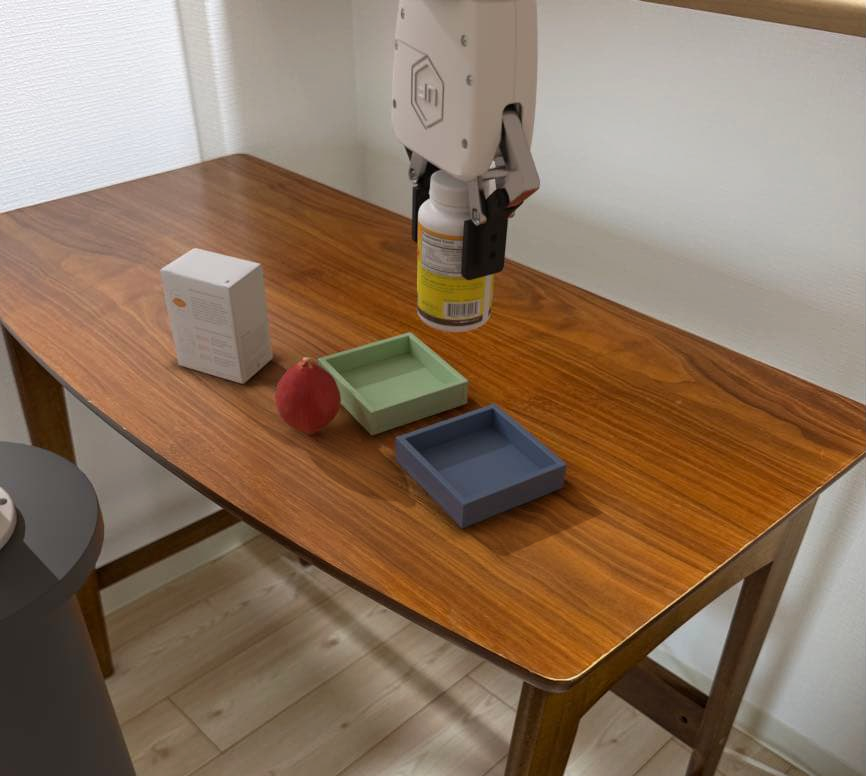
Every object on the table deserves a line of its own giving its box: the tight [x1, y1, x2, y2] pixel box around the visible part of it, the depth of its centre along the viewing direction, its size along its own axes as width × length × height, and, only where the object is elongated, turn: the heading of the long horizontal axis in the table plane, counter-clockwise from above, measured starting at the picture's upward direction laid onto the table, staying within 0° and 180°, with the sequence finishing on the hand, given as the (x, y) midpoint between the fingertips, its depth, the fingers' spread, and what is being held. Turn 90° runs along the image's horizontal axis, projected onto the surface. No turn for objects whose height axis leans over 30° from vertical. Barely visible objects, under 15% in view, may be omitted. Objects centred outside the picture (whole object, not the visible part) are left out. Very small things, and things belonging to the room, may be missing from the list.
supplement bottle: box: [416, 170, 495, 333], centre depth 63 cm, size 6×6×10 cm
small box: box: [159, 247, 274, 385], centre depth 88 cm, size 8×6×10 cm
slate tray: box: [395, 403, 568, 529], centre depth 79 cm, size 11×11×3 cm
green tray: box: [317, 331, 470, 436], centre depth 88 cm, size 11×11×3 cm
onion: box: [274, 356, 341, 435], centre depth 81 cm, size 6×6×8 cm
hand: (456, 253), depth 63 cm, fingers closed on supplement bottle, 5 cm apart
